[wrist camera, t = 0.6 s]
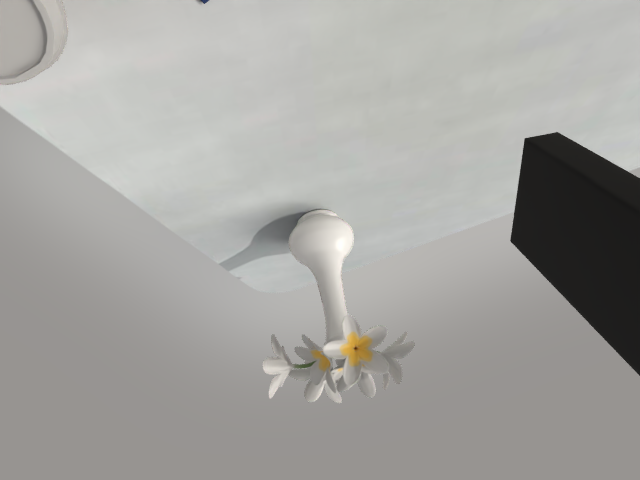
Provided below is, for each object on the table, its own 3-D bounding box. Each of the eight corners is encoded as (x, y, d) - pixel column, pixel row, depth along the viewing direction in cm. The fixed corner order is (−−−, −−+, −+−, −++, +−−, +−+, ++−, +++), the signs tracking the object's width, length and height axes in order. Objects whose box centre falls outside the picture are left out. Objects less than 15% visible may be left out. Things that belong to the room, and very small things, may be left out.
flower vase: (236, 227, 63) (250, 410, 50) (356, 175, 58) (408, 363, 45) (281, 264, 74) (303, 423, 60) (386, 222, 69) (436, 386, 55)
